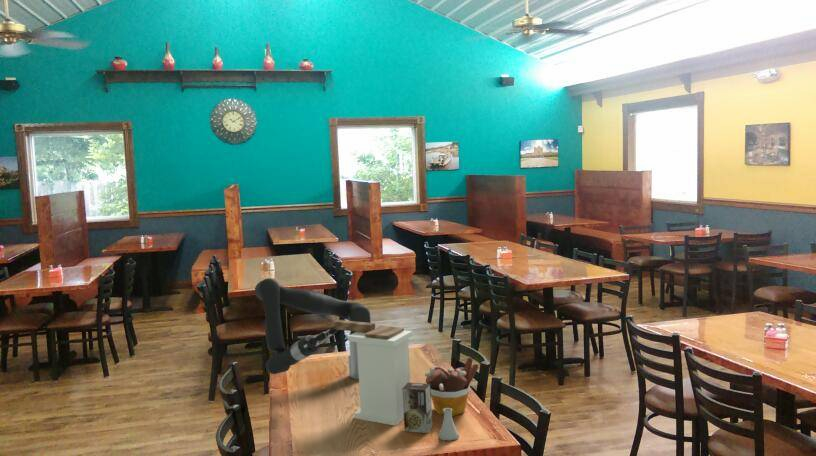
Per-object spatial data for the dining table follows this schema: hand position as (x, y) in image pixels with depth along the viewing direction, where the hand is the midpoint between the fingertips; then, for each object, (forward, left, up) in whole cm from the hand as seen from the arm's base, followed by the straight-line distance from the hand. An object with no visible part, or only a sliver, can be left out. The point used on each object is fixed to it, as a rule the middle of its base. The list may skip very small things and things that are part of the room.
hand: (331, 331), depth 258 cm
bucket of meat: (+44, +14, -31) cm, 56 cm away
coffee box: (+40, -6, -31) cm, 51 cm away
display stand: (+22, 0, -31) cm, 38 cm away
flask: (+53, -8, -31) cm, 62 cm away
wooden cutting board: (+16, 0, +1) cm, 16 cm away
